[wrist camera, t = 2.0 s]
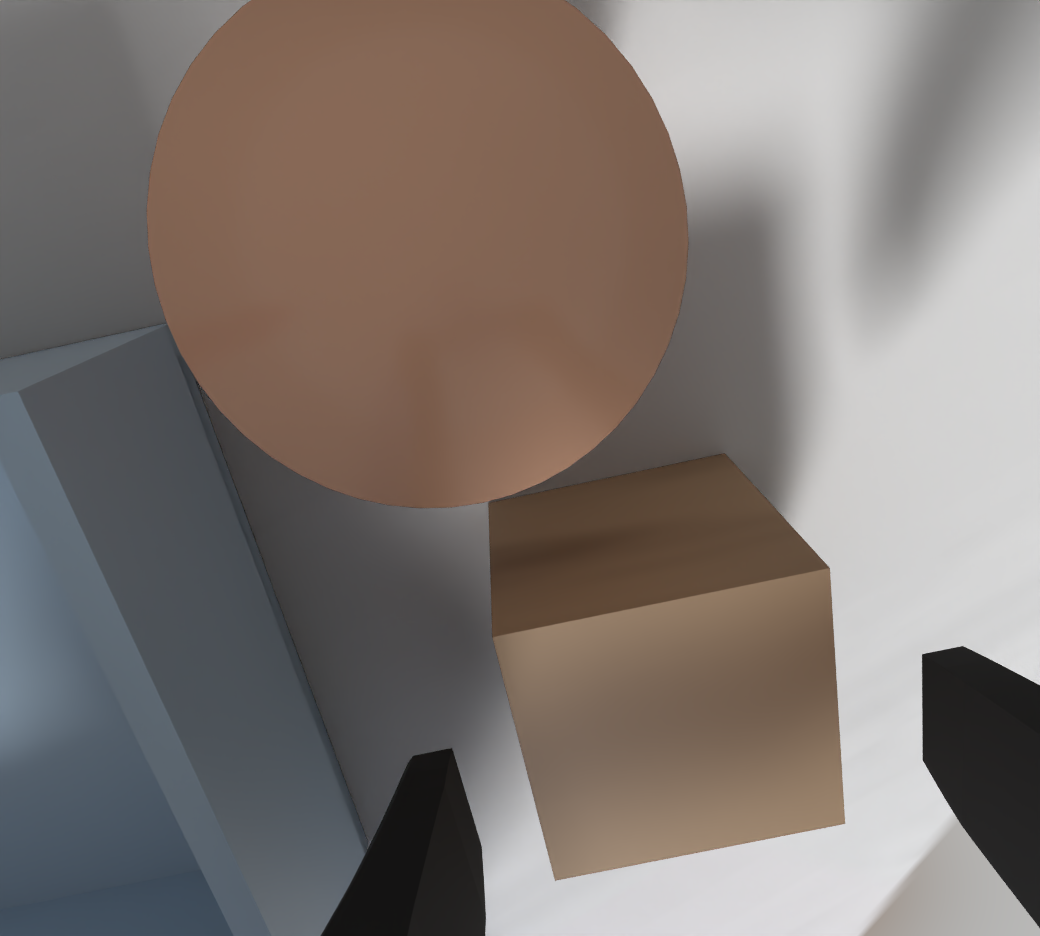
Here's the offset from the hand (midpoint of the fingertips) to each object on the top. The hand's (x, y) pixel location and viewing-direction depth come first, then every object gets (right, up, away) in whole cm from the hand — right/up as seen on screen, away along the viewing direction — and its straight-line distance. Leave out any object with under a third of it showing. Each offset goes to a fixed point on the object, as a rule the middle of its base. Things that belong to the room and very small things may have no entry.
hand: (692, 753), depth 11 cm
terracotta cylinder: (-4, +9, +2) cm, 10 cm away
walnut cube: (0, +2, +5) cm, 6 cm away
